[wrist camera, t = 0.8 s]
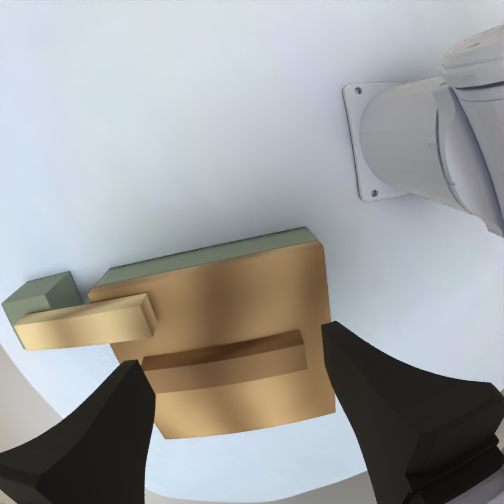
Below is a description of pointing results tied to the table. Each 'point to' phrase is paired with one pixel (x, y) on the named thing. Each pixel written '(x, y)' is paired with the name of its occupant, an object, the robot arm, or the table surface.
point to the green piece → (207, 255)
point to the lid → (234, 342)
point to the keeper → (41, 297)
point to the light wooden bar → (89, 324)
